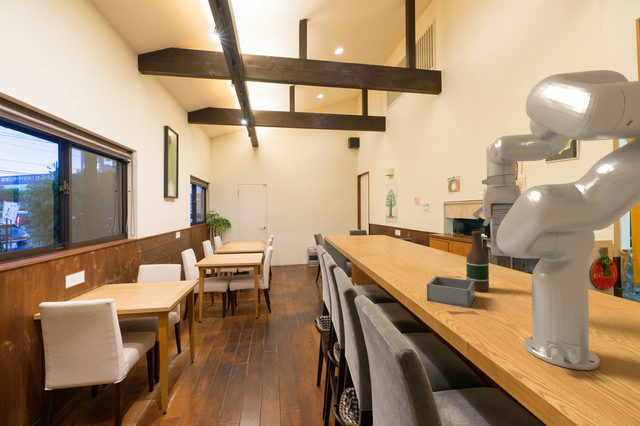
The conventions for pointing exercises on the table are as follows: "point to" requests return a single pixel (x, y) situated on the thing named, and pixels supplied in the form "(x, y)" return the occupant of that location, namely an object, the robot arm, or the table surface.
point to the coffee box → (497, 224)
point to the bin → (451, 291)
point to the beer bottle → (478, 264)
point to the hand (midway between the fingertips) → (502, 238)
